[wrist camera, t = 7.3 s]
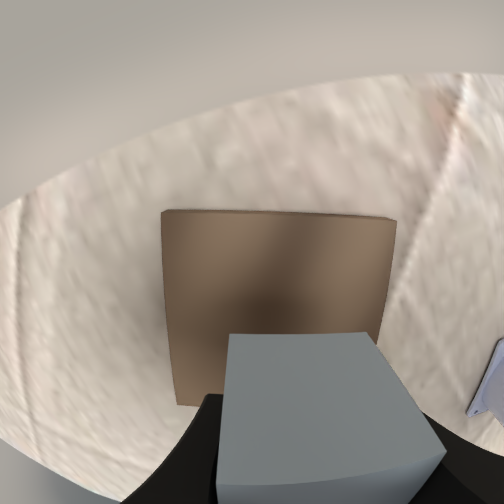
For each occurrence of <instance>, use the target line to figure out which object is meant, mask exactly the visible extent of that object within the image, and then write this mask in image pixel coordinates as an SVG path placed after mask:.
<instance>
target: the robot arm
mask: <svg viewBox="0 0 504 504" xmlns="http://www.w3.org/2000/svg"><path fill="white" fill-rule="evenodd" d="M223 397H224V394H211V393H208V394H207V395H205V397H204V399H203V402H202V404H201V406H200V408H199V410H198V412H197V413H196V415H195V417H194V419H193V420H192V422H191V424H190V425H189V427H188V428H187V430H186V431H185V433H184V434H183V436H182V437H181V439H180V440H179V442H178V443H177V445H176V446H175V447H174V449H173V450H172V451H171V452H170V454H169V455H168V456H167V457H166V459H165V460H164V461H163V462H162V464H161V465H160V466H159V467H158V468H157V469H156V470H155V471H154V473H153V474H152V475H151V476H150V477H149V478H148V479H147V480H146V481H145V482H144V483H143V484H142V485H141V486H140V487H138V488H137V489H136V490H135V491H134V492H133V493H132V494H131V495H129V496H128V497H127V498H126V499H125V500H123V501H122V502H121V503H120V504H218V497H217V489H216V478H217V465H218V453H219V441H220V430H221V419H222V407H223ZM487 410H490V411H491V413H492V414H493V415H494V416H495V417H496V418H497V420H498V421H499V422H500V423H501V424H502V426H503V427H504V339H502V340H500V341H499V342H498V344H497V346H496V349H495V352H494V354H493V357H492V359H491V362H490V364H489V367H488V369H487V371H486V374H485V376H484V378H483V381H482V383H481V385H480V387H479V389H478V391H477V393H476V395H475V398H474V400H473V402H472V404H471V405H470V407H469V409H468V411H467V416H468V417H472V416H474V415H477V414H479V413H482V412H484V411H487ZM421 412H422V411H421ZM422 413H423V412H422ZM423 415H424V416H425V418H426V419H427V421H428V422H429V424H430V426H431V427H432V429H433V430H434V432H435V433H436V435H437V436H438V438H439V440H440V441H441V443H442V444H443V446H444V448H445V449H446V451H447V452H446V454H445V455H444V457H443V458H442V460H441V461H440V463H439V464H438V465H437V467H436V468H435V470H434V471H433V472H432V474H431V475H430V476H429V478H428V479H427V480H426V482H425V483H424V484H423V486H422V487H421V488H420V489H419V491H418V492H417V493H416V494H415V496H414V497H413V498H412V499H411V500H410V502H409V503H408V504H504V457H503V456H500V455H497V454H494V453H492V452H489V451H487V450H484V449H482V448H480V447H478V446H476V445H474V444H472V443H470V442H468V441H466V440H464V439H462V438H461V437H459V436H457V435H456V434H454V433H452V432H451V431H449V430H448V429H446V428H445V427H443V426H442V425H440V424H439V423H437V422H436V421H434V420H433V419H431V418H430V417H429V416H427V415H426V414H425V413H423Z"/></svg>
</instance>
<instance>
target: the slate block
mask: <svg viewBox="0 0 504 504" xmlns="http://www.w3.org/2000/svg"><path fill="white" fill-rule="evenodd" d="M446 452H447V451H446V449H445V448H444V446H443V444H442V443H441V441H440V440H439V438H438V436H437V435H436V433H435V432H434V430H433V429H432V427H431V426H430V424H429V422H428V421H427V419H426V418H425V416H424V415H423V413H422V412H421V410H420V409H419V407H418V406H417V404H416V403H415V401H414V400H413V398H412V397H411V395H410V394H409V392H408V391H407V389H406V388H405V386H404V385H403V383H402V382H401V381H400V379H399V378H398V376H397V375H396V373H395V372H394V370H393V369H392V367H391V366H390V365H389V363H388V362H387V360H386V359H385V357H384V356H383V355H382V353H381V352H380V350H379V349H378V348H377V346H376V345H375V343H374V342H373V341H372V339H371V338H370V336H369V335H368V334H367V332H355V333H332V334H229V344H228V354H227V365H226V375H225V386H224V397H223V407H222V419H221V430H220V441H219V453H218V465H217V478H216V489H217V497H218V504H408V503H409V502H410V500H411V499H412V498H413V497H414V496H415V494H416V493H417V492H418V491H419V489H420V488H421V487H422V486H423V484H424V483H425V482H426V480H427V479H428V478H429V476H430V475H431V474H432V472H433V471H434V470H435V468H436V467H437V465H438V464H439V463H440V461H441V460H442V458H443V457H444V455H445V454H446Z"/></svg>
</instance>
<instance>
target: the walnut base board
mask: <svg viewBox="0 0 504 504" xmlns="http://www.w3.org/2000/svg"><path fill="white" fill-rule="evenodd" d="M396 226H397V221H395V220H392V219H389V218H384V217H369V216H354V215H337V214H318V213H297V212H271V211H236V210H166V211H164V212H161V237H162V262H163V280H164V295H165V308H166V319H167V330H168V340H169V349H170V357H171V366H172V373H173V381H174V388H175V395H176V401H177V405H185V406H197V407H200V406H201V404H202V402H203V399H204V397H205V395H207V394H208V393H211V394H224V386H225V375H226V365H227V354H228V344H229V334H332V333H355V332H367V334H368V335H369V336H370V338H371V339H372V341H373V342H374V343H375V345H376V344H377V340H378V335H379V331H380V326H381V322H382V317H383V312H384V307H385V302H386V296H387V291H388V285H389V279H390V273H391V266H392V259H393V252H394V244H395V235H396Z"/></svg>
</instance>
